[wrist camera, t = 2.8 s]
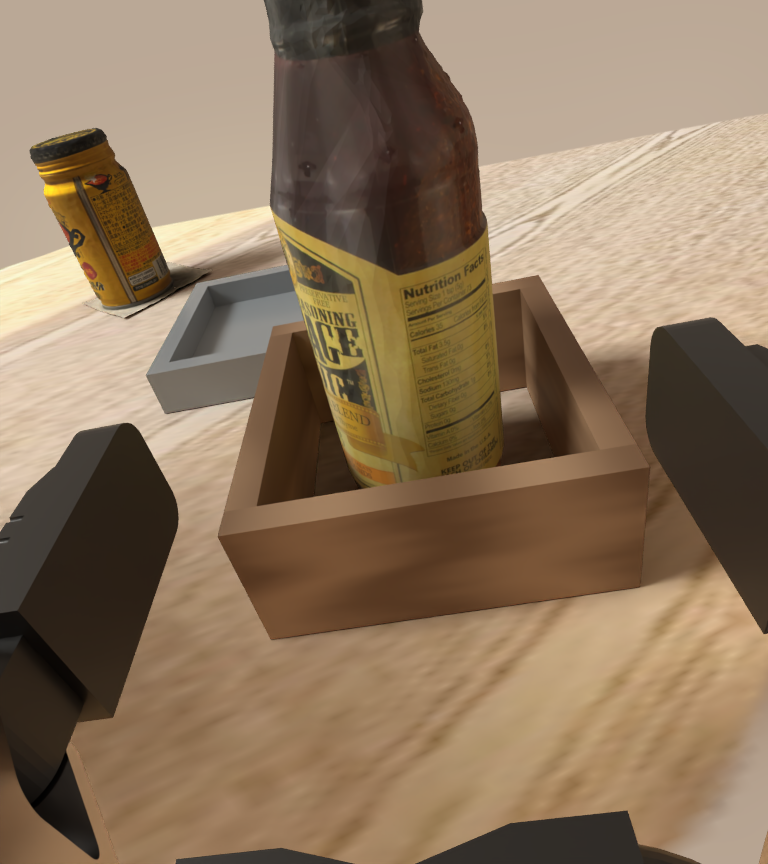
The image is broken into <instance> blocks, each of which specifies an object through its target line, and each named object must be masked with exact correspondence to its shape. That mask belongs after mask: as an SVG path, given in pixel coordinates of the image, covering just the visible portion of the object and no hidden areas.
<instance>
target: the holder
mask: <svg viewBox="0 0 768 864" xmlns="http://www.w3.org/2000/svg"><path fill="white" fill-rule="evenodd" d="M492 292H493V305H494V317H495V329H496V341H497V355H498V369H499V382H500V391H505V390H510V389H516V388H522V387H527V389H528V391H529V394H530V396H531V399H532V401H533V404H534V406H535V409H536V411H537V414H538V416H539V419H540V422H541V424H542V427H543V429H544V432H545V434H546V437H547V439H548V442H549V444H550V447H551V449H552V452H553V454H554V458H548V459H541V460H535V461H529V462H523V463H517V464H511V465H505V466H499V467H493V468H487V469H481V470H475V471H469V472H462V473H456V474H450V475H444V476H438V477H432V478H426V479H420V480H414V481H408V482H402V483H396V484H390V485H383V486H377V487H371V488H365V489H359V490H353V491H347V492H341V493H335V494H329V495H323V496H317V497H314V489H315V479H316V469H317V459H318V448H319V438H320V428H321V423H323V422H329V421H334V418H333V415H332V411H331V408H330V405H329V401H328V398H327V395H326V391H325V388H324V385H323V382H322V378H321V376H320V372H319V370H318V365H317V361H316V358H315V355H314V351H313V348H312V345H311V342H310V339H309V337H308V333H307V329H306V326H305V323H304V321H299V322H293V323H288V324H283V325H278V326H273V328H272V332H271V336H270V340H269V343H268V347H267V351H266V355H265V359H264V362H263V366H262V370H261V374H260V378H259V381H258V385H257V389H256V393H255V396H254V400H253V404H252V408H251V412H250V415H249V419H248V423H247V427H246V431H245V434H244V438H243V442H242V446H241V450H240V453H239V457H238V461H237V465H236V469H235V472H234V476H233V480H232V484H231V488H230V491H229V495H228V499H227V503H226V506H225V510H224V514H223V518H222V522H221V525H220V529H219V533H218V538H219V540H220V542H221V544H222V546H223V548H224V550H225V552H226V554H227V556H228V557H229V559H230V561H231V563H232V565H233V567H234V569H235V571H236V573H237V575H238V577H239V579H240V581H241V583H242V585H243V586H244V588H245V590H246V592H247V594H248V596H249V598H250V600H251V602H252V604H253V606H254V608H255V610H256V612H257V614H258V615H259V617H260V619H261V621H262V623H263V625H264V627H265V629H266V631H267V633H268V635H269V637H270V639H277V638H284V637H291V636H298V635H305V634H312V633H319V632H326V631H334V630H341V629H348V628H355V627H362V626H369V625H376V624H383V623H390V622H397V621H404V620H411V619H418V618H425V617H432V616H439V615H446V614H453V613H460V612H467V611H474V610H481V609H488V608H495V607H502V606H509V605H516V604H523V603H530V602H537V601H544V600H551V599H558V598H565V597H572V596H579V595H586V594H593V593H600V592H607V591H614V590H621V589H628V588H635V587H640V581H641V569H642V557H643V545H644V533H645V521H646V509H647V497H648V486H649V474H650V466H649V464H648V463H647V461H646V459H645V457H644V456H643V454H642V452H641V451H640V449H639V447H638V445H637V444H636V442H635V440H634V438H633V437H632V435H631V433H630V432H629V430H628V428H627V426H626V425H625V423H624V421H623V420H622V418H621V416H620V414H619V413H618V411H617V409H616V408H615V406H614V404H613V402H612V401H611V399H610V397H609V396H608V394H607V392H606V390H605V389H604V387H603V385H602V383H601V382H600V380H599V378H598V377H597V375H596V373H595V371H594V370H593V368H592V366H591V365H590V363H589V361H588V359H587V358H586V356H585V354H584V353H583V351H582V349H581V347H580V346H579V344H578V342H577V341H576V339H575V337H574V335H573V334H572V332H571V330H570V328H569V327H568V325H567V323H566V322H565V320H564V318H563V316H562V315H561V313H560V311H559V310H558V308H557V306H556V304H555V303H554V301H553V299H552V298H551V296H550V294H549V292H548V291H547V289H546V287H545V285H544V284H543V282H542V280H541V279H540V277H539V275H537V276H531V277H526V278H521V279H516V280H511V281H505V282H500V283H495V284H492Z"/></svg>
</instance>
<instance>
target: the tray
mask: <svg viewBox="0 0 768 864" xmlns="http://www.w3.org/2000/svg"><path fill="white" fill-rule="evenodd" d="M299 321H304V319H303V316H302V312H301V308H300V305H299V302H298V298H297V295H296V291H295V288H294V285H293V281H292V278H291V275H290V271H289V268H288V265H284V266H279V267H274V268H270V269H265V270H260V271H255V272H250V273H245V274H240V275H235V276H230V277H225V278H220V279H215V280H210V281H205V282H201V283H196V285H195V287H194V289H193V291H192V292H191V294H190V296H189V298H188V300H187V302H186V303H185V305H184V307H183V309H182V311H181V312H180V314H179V316H178V318H177V320H176V322H175V323H174V325H173V327H172V329H171V331H170V332H169V334H168V336H167V338H166V340H165V342H164V343H163V345H162V347H161V349H160V351H159V352H158V354H157V356H156V358H155V360H154V362H153V363H152V365H151V367H150V369H149V371H148V372H147V374H146V377H147V379H148V381H149V383H150V384H151V386H152V388H153V390H154V392H155V394H156V396H157V398H158V400H159V402H160V404H161V406H162V408H163V410H164V412H165V414H166V413H171V412H177V411H182V410H188V409H193V408H199V407H204V406H210V405H215V404H221V403H226V402H232V401H237V400H243V399H248V398H254V396H255V393H256V389H257V385H258V381H259V378H260V374H261V370H262V366H263V362H264V359H265V355H266V351H267V347H268V343H269V340H270V336H271V332H272V328H273V326H278V325H283V324H288V323H293V322H299Z"/></svg>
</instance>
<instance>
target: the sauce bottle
mask: <svg viewBox="0 0 768 864" xmlns="http://www.w3.org/2000/svg"><path fill="white" fill-rule="evenodd" d="M264 2H265V6H266V10H267V15H268V19H269V28H270V39H271V42H272V45H273V48H274V50H275V58H274V61H275V62H274V108H273V159H272V177H271V194H270V207H271V210H272V214H273V217H274V220H275V224H276V227H277V230H278V234H279V238H280V241H281V245H282V248H283V252H284V255H285V258H286V261H287V265H288V268H289V271H290V275H291V278H292V281H293V285H294V288H295V291H296V295H297V298H298V302H299V305H300V308H301V312H302V316H303V319H304V323H305V326H306V329H307V333H308V337H309V339H310V342H311V345H312V348H313V351H314V355H315V358H316V361H317V365H318V370H319V372H320V376H321V378H322V382H323V385H324V388H325V391H326V395H327V398H328V401H329V405H330V408H331V411H332V415H333V418H334V421H335V425H336V428H337V431H338V435H339V438H340V441H341V444H342V448H343V451H344V454H345V458H346V461H347V465H348V468H349V470H350V472H351V474H352V476H353V478H354V479H355V482H356V484H357V486H358V489H365V488H371V487H377V486H383V485H390V484H396V483H402V482H408V481H414V480H420V479H426V478H432V477H438V476H444V475H450V474H456V473H462V472H469V471H475V470H481V469H487V468H493V467H499V466H501V461H502V456H501V455H502V451H503V446H504V437H503V423H502V410H501V396H500V382H499V369H498V355H497V341H496V329H495V317H494V305H493V292H492V278H491V264H490V251H489V239H488V226H487V219H486V216H485V214H484V213H483V211H482V201H481V189H480V177H479V168H478V146H477V138H476V134H475V128H474V124H473V121H472V117H471V115H470V113H469V110H468V108H467V106H466V105H465V103H464V102H463V99H462V95H461V94H460V93H459V92H458V91H457V89H456V88H455V86H454V85H453V84H452V83H451V81H450V77H449V76H448V74H447V73H446V72H444V71H443V69H442V67H441V66H440V64H439V63H438V62H437V61H436V59H435V58H434V56H433V54H432V53H431V52H430V51H429V49H428V48H427V46H426V45H425V43H424V41H423V39H422V37H421V35H420V33H419V25H420V19H421V16H422V13H423V7H422V0H264Z"/></svg>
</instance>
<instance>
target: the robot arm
mask: <svg viewBox="0 0 768 864" xmlns="http://www.w3.org/2000/svg"><path fill="white" fill-rule="evenodd" d="M646 427H647V433H648V438H649V441H650V444H651V447H652V449H653V452H654V454H655V456H656V457H657V459H658V461H659V462H660V464H661V466H662V467H663V469H664V470H665V472H666V474H667V475H668V477H669V479H670V480H671V482H672V484H673V485H674V487H675V489H676V490H677V492H678V494H679V495H680V497H681V499H682V500H683V502H684V503H685V505H686V507H687V508H688V510H689V512H690V513H691V515H692V517H693V518H694V520H695V522H696V523H697V525H698V527H699V528H700V530H701V531H702V533H703V535H704V536H705V538H706V540H707V541H708V543H709V545H710V546H711V548H712V550H713V551H714V553H715V555H716V556H717V558H718V560H719V561H720V563H721V564H722V566H723V568H724V569H725V571H726V573H727V574H728V576H729V578H730V579H731V581H732V583H733V584H734V586H735V588H736V589H737V591H738V593H739V594H740V596H741V597H742V599H743V601H744V602H745V604H746V606H747V607H748V609H749V611H750V612H751V614H752V616H753V617H754V619H755V621H756V622H757V624H758V625H759V627H760V629H761V630H762V632H763V634H767V633H768V349H767V348H765V347H763V346H760V345H758V344H756V345H751V346H744V345H743V344H742V343H741V342H740V341H739V340H738V339H737V338H736V337H735V336H734V335H733V334H732V333H731V332H730V331H729V330H728V329H727V328H726V327H725V326H724V325H723V324H722V323H721V322H720V321H718V320H717V319H715V318H705V319H699V320H694V321H688V322H683V323H677V324H672V325H666V326H661V327H657V328H656V329H655V331H654V332H653V335H652V339H651V346H650V360H649V374H648V388H647V402H646ZM177 528H178V508H177V503H176V499H175V496H174V494H173V492H172V490H171V488H170V486H169V484H168V483H167V481H166V479H165V477H164V475H163V473H162V472H161V470H160V468H159V466H158V464H157V462H156V461H155V459H154V457H153V455H152V453H151V451H150V450H149V448H148V446H147V444H146V442H145V440H144V439H143V437H142V435H141V433H140V432H139V430H138V429H137V428H136V427H135V426H134V425H132V424H130V423H122V424H116V425H111V426H105V427H100V428H94V429H89V430H83V431H80V432H78V433H77V434H76V435H75V437H74V438H73V440H72V441H71V443H70V444H69V446H68V447H67V449H66V451H65V452H64V454H63V455H62V457H61V458H60V460H59V462H58V463H57V465H56V466H55V467H54V468H52V469H51V470H50V471H49V472H48V473H47V474H46V475H45V476H44V477H43V478H41V479H40V480H39V481H38V482H37V483H36V484H35V485H34V486H33V487H32V488H30V489H29V490H28V491H27V492H26V494H25V495H24V497H23V498H22V500H21V501H20V503H19V504H18V506H17V507H16V509H15V510H14V512H13V513H12V515H11V516H10V522H9V523H6V524H5V526H4V527H3V529H2V530H1V532H0V864H119V862H118V859H117V857H116V854H115V851H114V848H113V846H112V843H111V840H110V837H109V834H108V832H107V829H106V826H105V823H104V821H103V818H102V815H101V812H100V809H99V807H98V804H97V801H96V798H95V795H94V793H93V790H92V787H91V784H90V782H89V779H88V776H87V773H86V770H85V768H84V765H83V762H82V759H81V756H80V754H79V752H78V750H77V749H76V748H75V747H74V746H73V745H72V744H71V743H70V742H69V741H70V739H71V736H72V733H73V731H74V728H75V726H76V723H77V722H84V721H91V720H99V719H106V718H113V716H114V714H115V711H116V708H117V705H118V702H119V699H120V696H121V693H122V690H123V687H124V684H125V681H126V678H127V675H128V672H129V670H130V667H131V664H132V661H133V658H134V655H135V652H136V649H137V646H138V643H139V640H140V637H141V634H142V631H143V629H144V626H145V623H146V620H147V617H148V614H149V611H150V608H151V605H152V602H153V599H154V596H155V593H156V590H157V588H158V585H159V582H160V579H161V576H162V573H163V570H164V567H165V564H166V561H167V558H168V555H169V552H170V549H171V547H172V544H173V541H174V538H175V535H176V532H177ZM176 864H353V863H348V862H344V861H339V860H334V859H330V858H325V857H321V856H316V855H311V854H307V853H302V852H297V851H293V850H288V849H283V848H277V849H268V850H258V851H249V852H240V853H231V854H221V855H212V856H203V857H194V858H184V859H176ZM416 864H700V863H698V862H696V861H694V860H692V859H689V858H686V857H683V856H680V855H677V854H674V853H671V852H668V851H665V850H662V849H658V848H654V847H649V846H644V845H639V844H638V843H637V840H636V836H635V833H634V830H633V827H632V824H631V820H630V817H629V814H628V811H620V812H611V813H601V814H592V815H583V816H573V817H564V818H555V819H546V820H536V821H527V822H518V823H510V824H508V825H505V826H503V827H501V828H498V829H496V830H494V831H491V832H489V833H487V834H484V835H482V836H480V837H477V838H475V839H473V840H470V841H468V842H465V843H463V844H461V845H458V846H456V847H454V848H451V849H449V850H447V851H444V852H442V853H440V854H437V855H435V856H433V857H430V858H428V859H426V860H423V861H421V862H419V863H416ZM759 864H768V832H767V836H766V839H765V842H764V846H763V850H762V853H761V857H760V861H759Z"/></svg>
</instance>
